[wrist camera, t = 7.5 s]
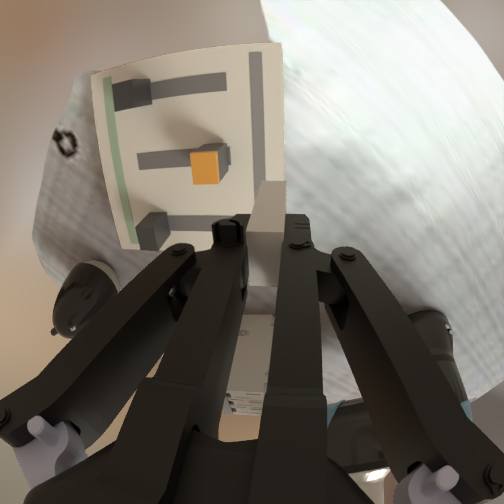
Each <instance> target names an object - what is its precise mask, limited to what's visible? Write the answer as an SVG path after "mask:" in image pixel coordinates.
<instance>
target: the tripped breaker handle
mask: <svg viewBox="0 0 504 504" xmlns="http://www.w3.org/2000/svg"><path fill="white" fill-rule="evenodd" d="M190 160H191V169H192V178H193V185H204V184H219V183H220V181H221V180H222V179H223V177H224V176H225V175H226V173H227V172H228V171H229V169H228V154H227V143H213V144H203V145H202V146H200V147H199V148H197V149H196V150H195V151H193V152H192V153H190Z"/></svg>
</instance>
